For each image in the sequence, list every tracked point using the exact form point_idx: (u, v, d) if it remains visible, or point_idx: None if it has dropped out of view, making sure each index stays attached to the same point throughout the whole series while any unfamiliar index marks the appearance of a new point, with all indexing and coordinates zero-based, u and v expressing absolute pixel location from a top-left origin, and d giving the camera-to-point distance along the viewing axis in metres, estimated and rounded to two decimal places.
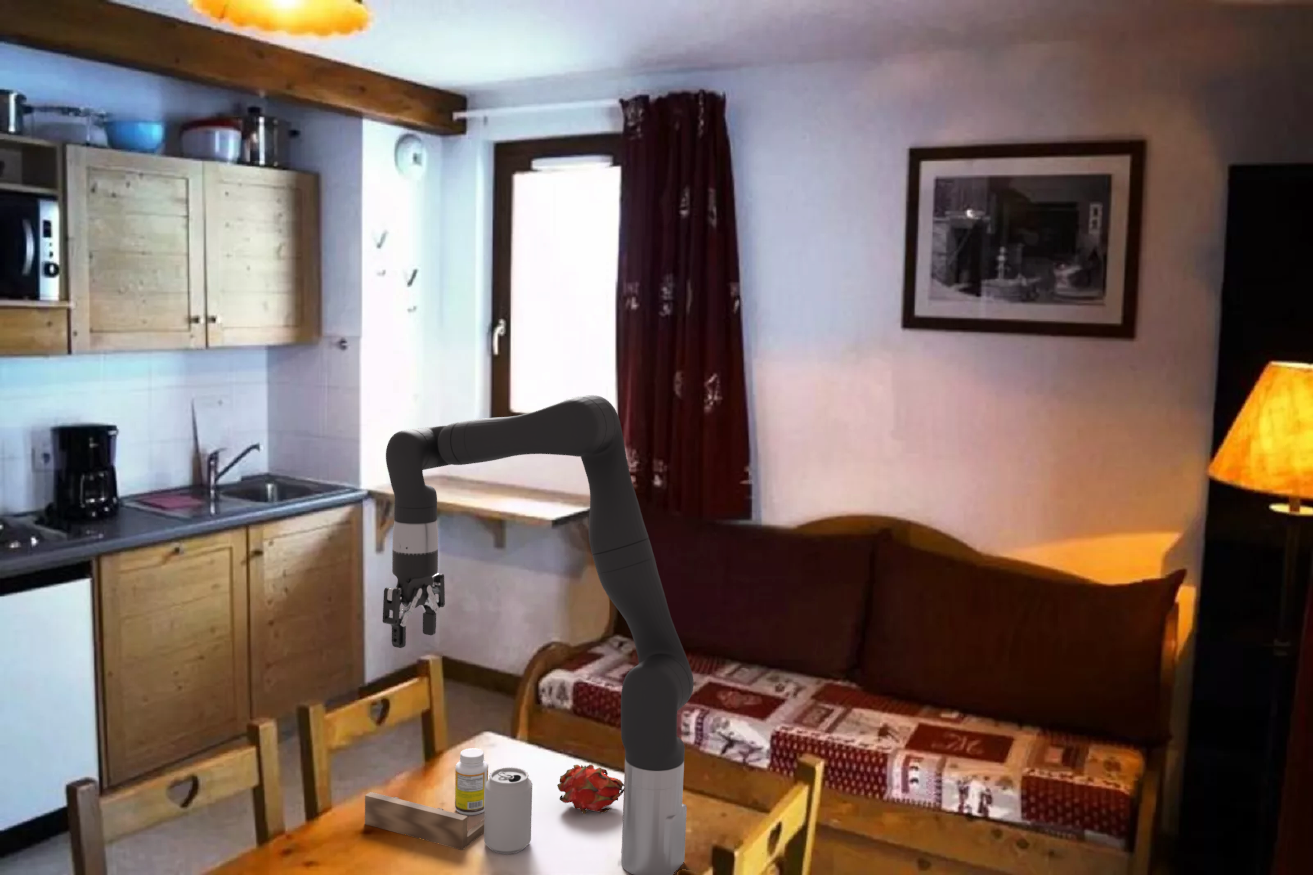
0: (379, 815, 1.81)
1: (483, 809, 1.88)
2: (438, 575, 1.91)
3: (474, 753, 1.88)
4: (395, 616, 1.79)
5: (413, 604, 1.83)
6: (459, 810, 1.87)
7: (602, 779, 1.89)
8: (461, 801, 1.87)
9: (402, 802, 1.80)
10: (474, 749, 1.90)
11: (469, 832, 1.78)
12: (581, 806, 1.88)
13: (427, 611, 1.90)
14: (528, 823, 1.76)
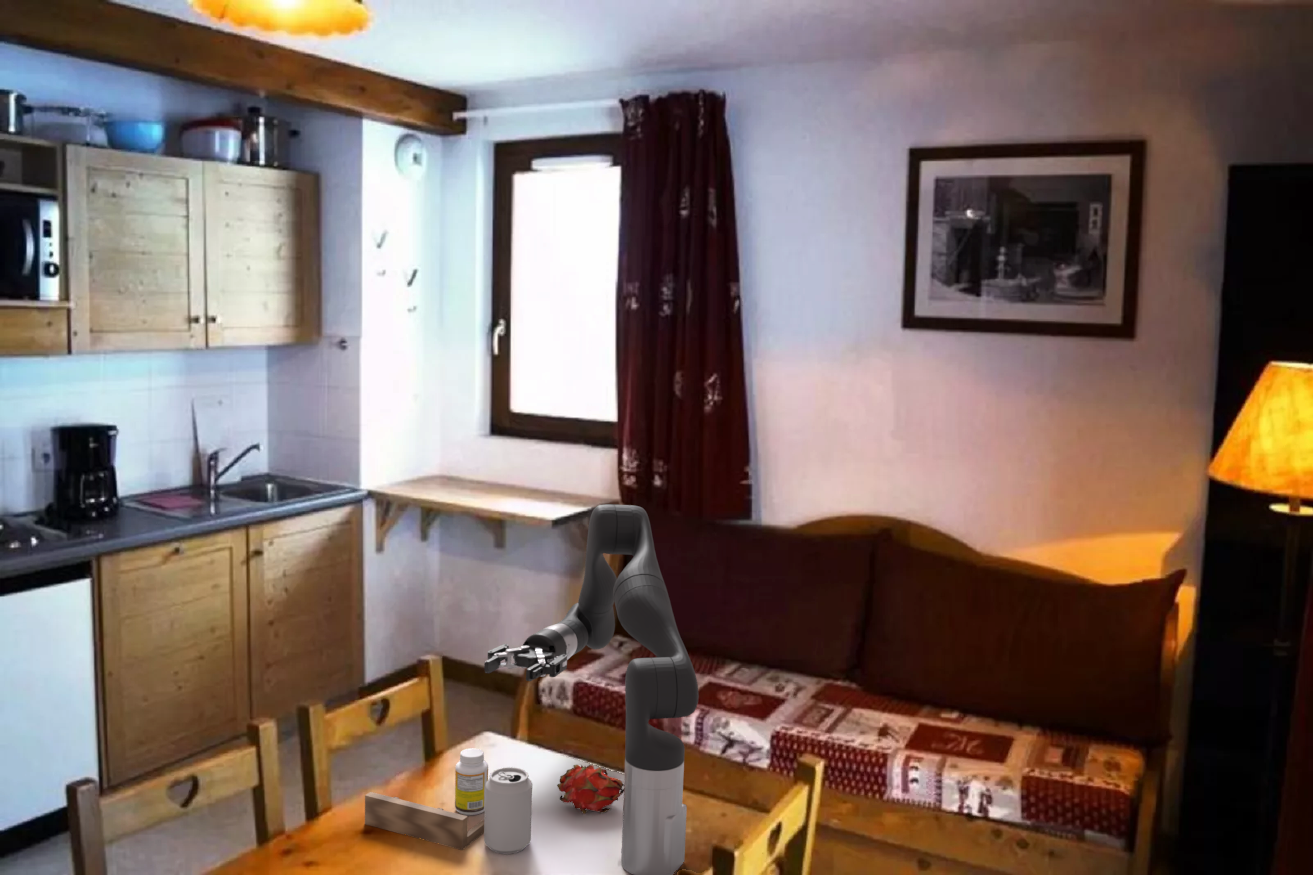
0: (379, 815, 1.81)
1: (483, 809, 1.88)
2: None
3: (474, 753, 1.88)
4: (492, 650, 2.05)
5: (514, 649, 2.04)
6: (459, 810, 1.87)
7: (602, 779, 1.89)
8: (461, 801, 1.87)
9: (402, 802, 1.80)
10: (474, 749, 1.90)
11: (469, 832, 1.78)
12: (581, 806, 1.88)
13: None
14: (529, 823, 1.76)
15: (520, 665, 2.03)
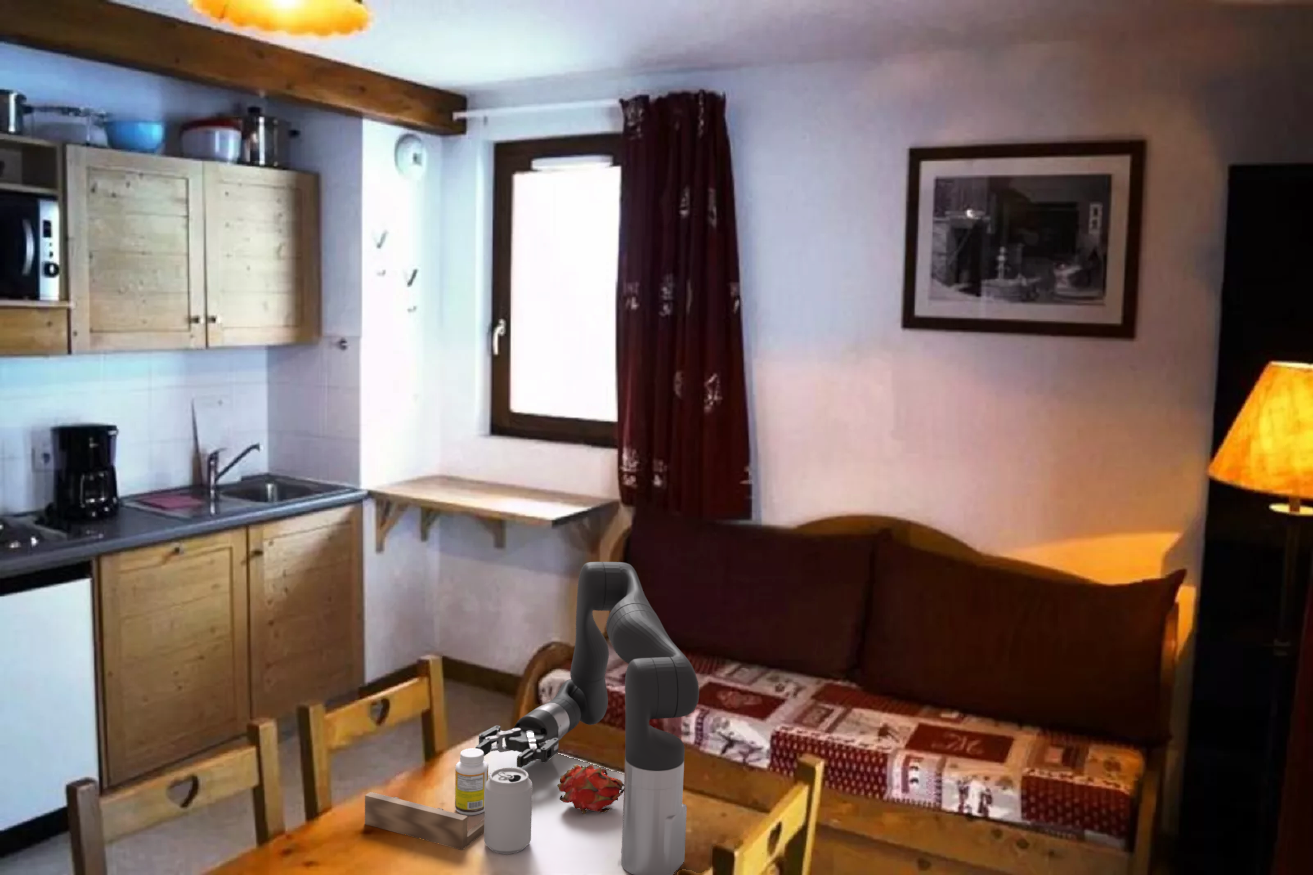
0: (379, 815, 1.81)
1: (483, 809, 1.88)
2: None
3: (474, 753, 1.88)
4: (483, 733, 2.04)
5: (505, 732, 2.04)
6: (459, 810, 1.87)
7: (602, 779, 1.89)
8: (461, 801, 1.87)
9: (402, 802, 1.80)
10: (474, 749, 1.90)
11: (469, 832, 1.78)
12: (581, 806, 1.88)
13: None
14: (528, 823, 1.76)
15: (511, 749, 2.02)
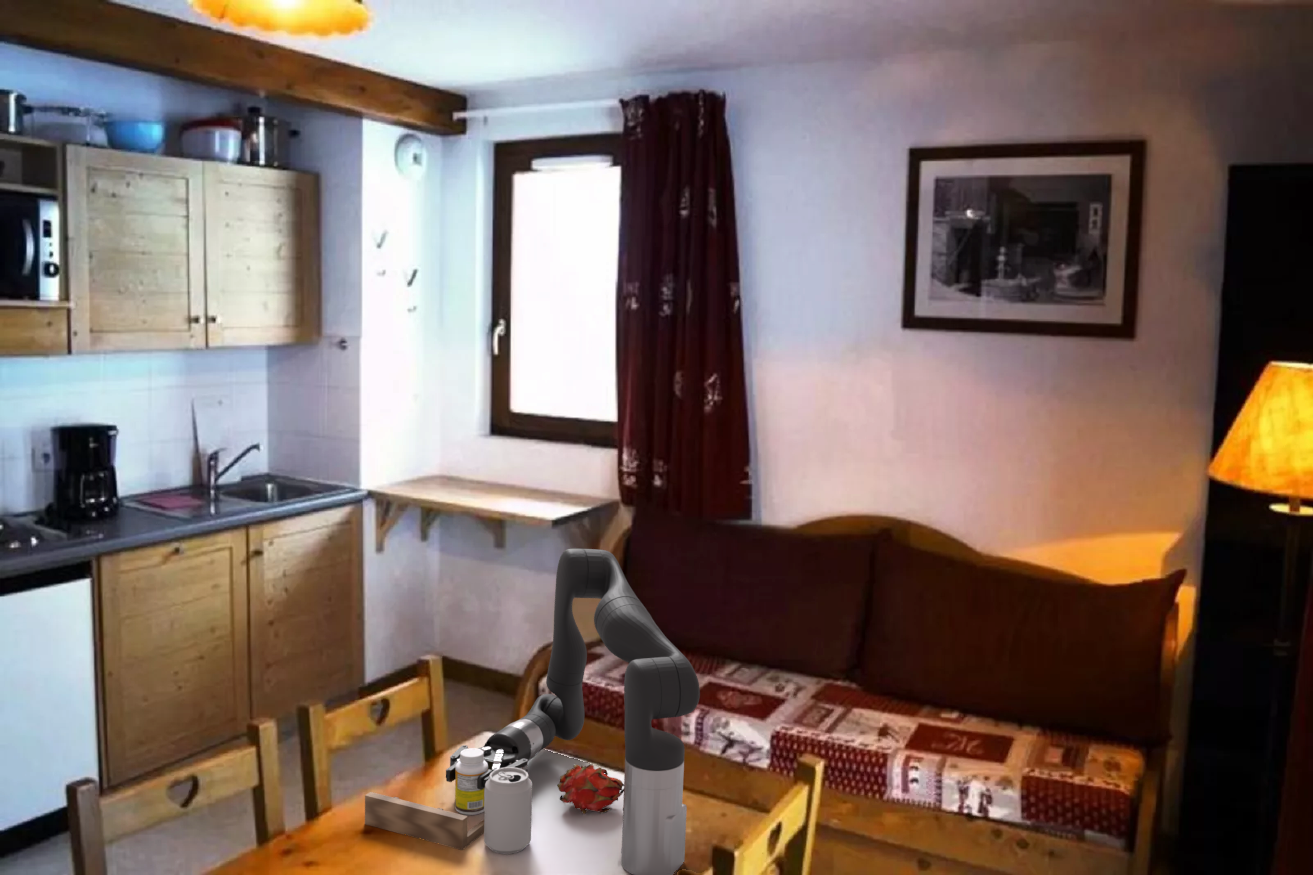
0: (379, 815, 1.81)
1: (483, 809, 1.88)
2: None
3: (474, 753, 1.88)
4: (453, 754, 1.94)
5: None
6: (459, 810, 1.87)
7: (602, 779, 1.89)
8: (461, 801, 1.87)
9: (402, 802, 1.80)
10: (474, 749, 1.90)
11: (469, 832, 1.78)
12: (581, 806, 1.88)
13: None
14: (528, 823, 1.76)
15: None
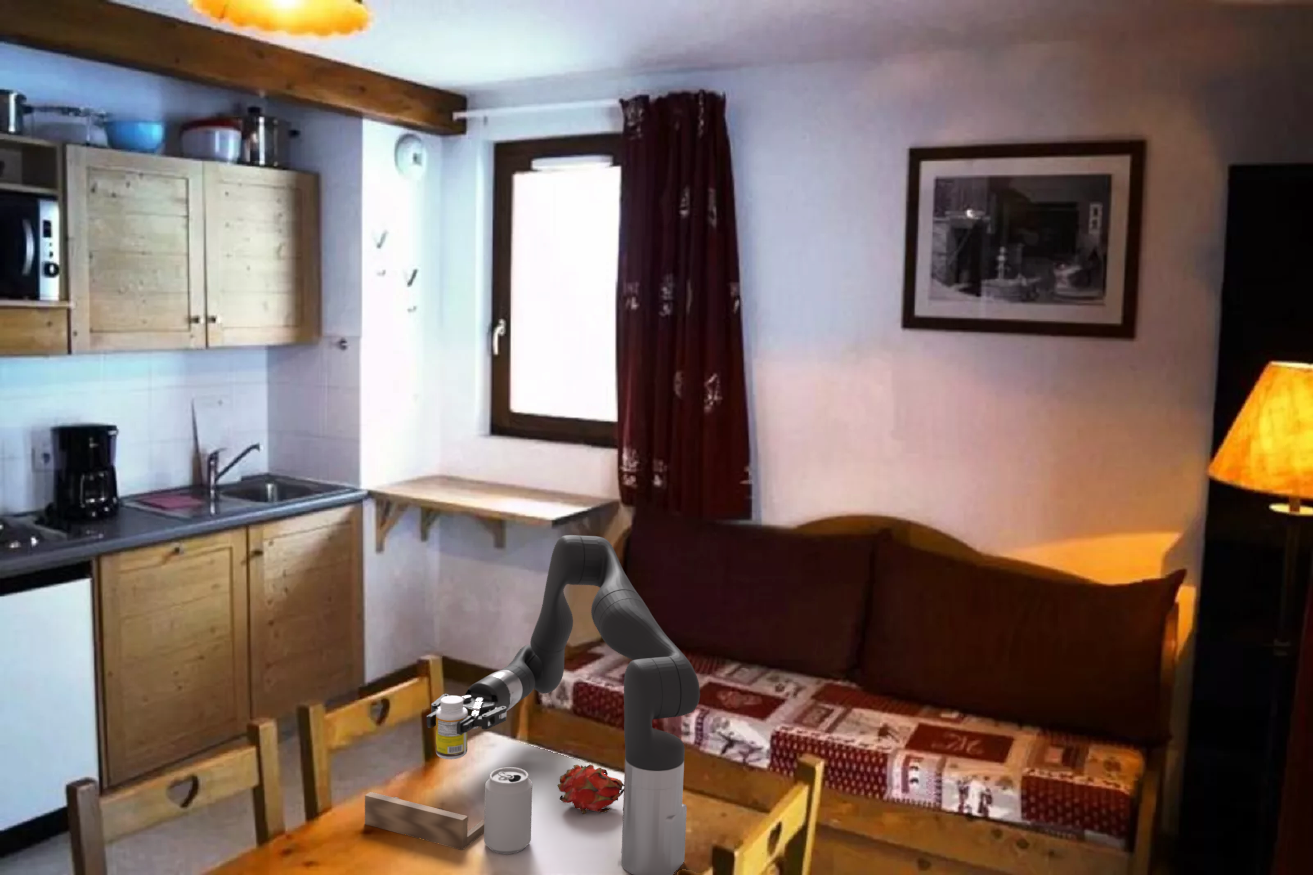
0: (379, 815, 1.81)
1: (463, 753, 1.95)
2: None
3: (454, 700, 1.95)
4: (435, 702, 2.01)
5: None
6: (440, 754, 1.94)
7: (602, 779, 1.89)
8: (442, 746, 1.94)
9: (402, 802, 1.80)
10: (454, 696, 1.96)
11: (469, 832, 1.78)
12: (581, 806, 1.88)
13: None
14: (528, 823, 1.76)
15: None
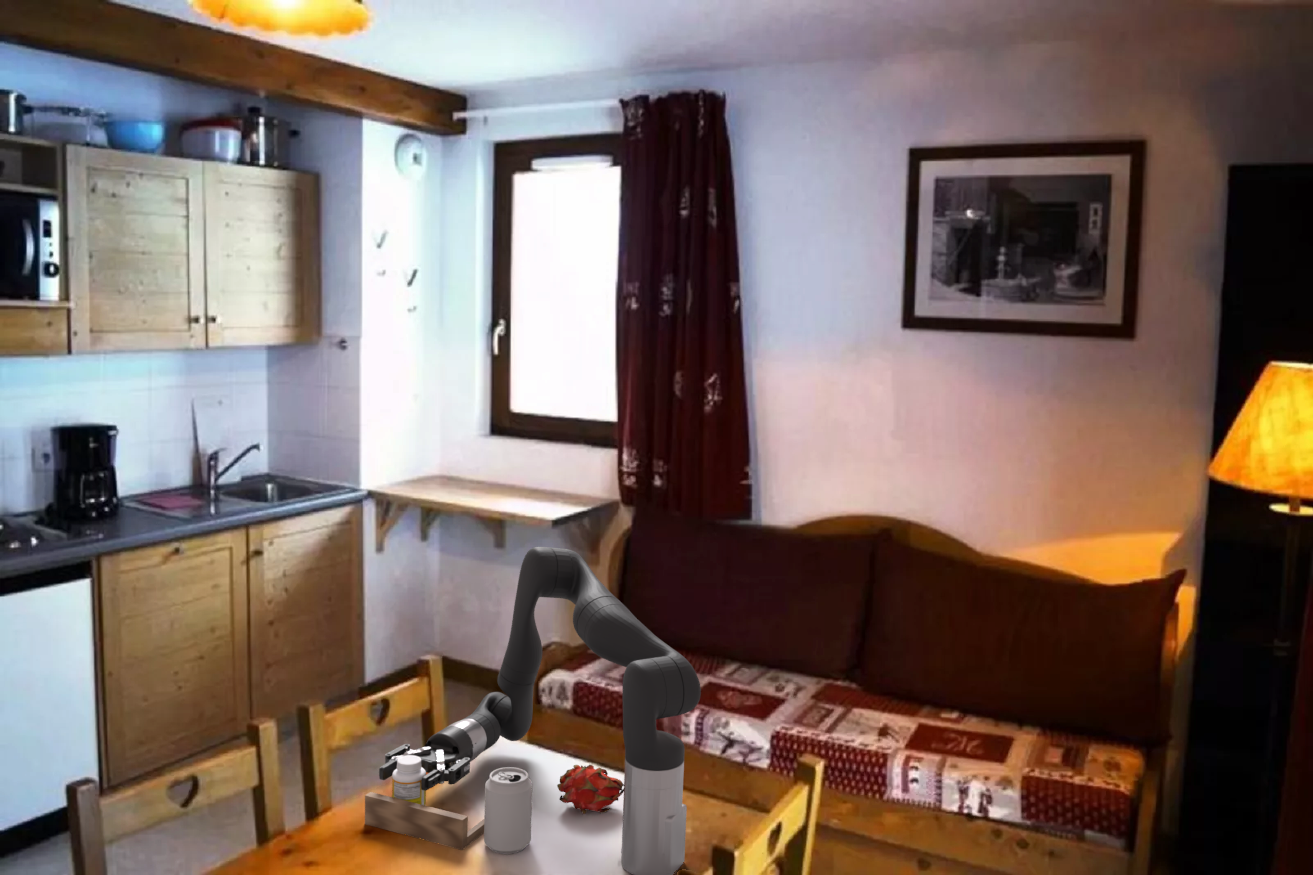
0: (379, 815, 1.81)
1: None
2: None
3: (411, 760, 1.84)
4: (390, 752, 1.91)
5: (414, 751, 1.90)
6: None
7: (602, 779, 1.89)
8: None
9: (402, 802, 1.80)
10: (412, 756, 1.86)
11: (469, 832, 1.78)
12: (581, 806, 1.88)
13: None
14: (528, 823, 1.76)
15: None
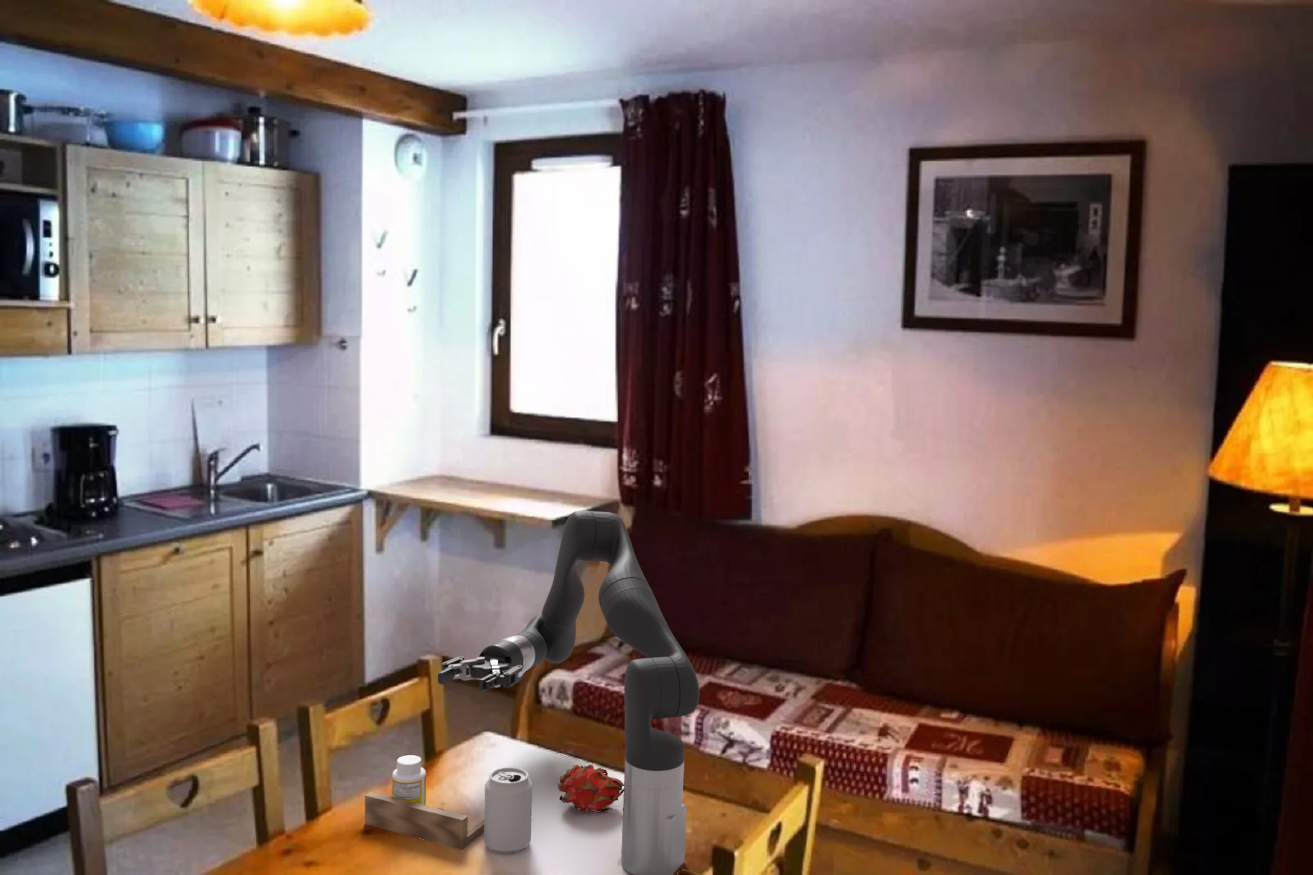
0: (379, 815, 1.81)
1: None
2: None
3: (411, 760, 1.84)
4: (446, 662, 2.02)
5: (469, 660, 2.01)
6: None
7: (602, 779, 1.89)
8: None
9: (402, 802, 1.80)
10: (412, 756, 1.86)
11: (469, 832, 1.78)
12: (581, 806, 1.88)
13: None
14: (529, 823, 1.76)
15: (475, 676, 2.00)
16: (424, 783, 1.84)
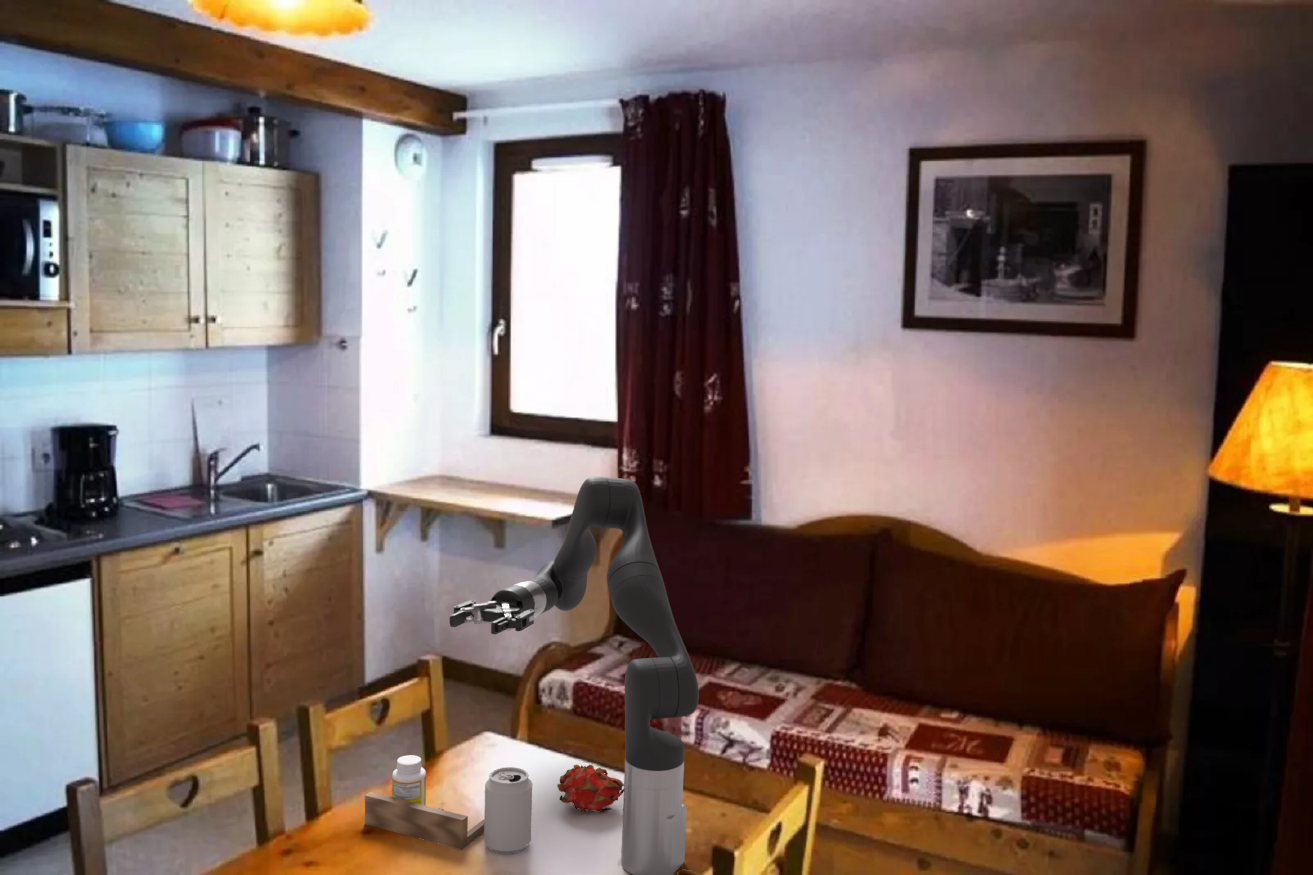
0: (379, 815, 1.81)
1: None
2: None
3: (411, 760, 1.84)
4: (458, 605, 2.02)
5: (481, 604, 2.02)
6: None
7: (601, 779, 1.89)
8: None
9: (402, 802, 1.80)
10: (412, 756, 1.86)
11: (469, 832, 1.78)
12: (581, 806, 1.88)
13: None
14: (529, 823, 1.76)
15: (486, 620, 2.00)
16: (424, 783, 1.84)
